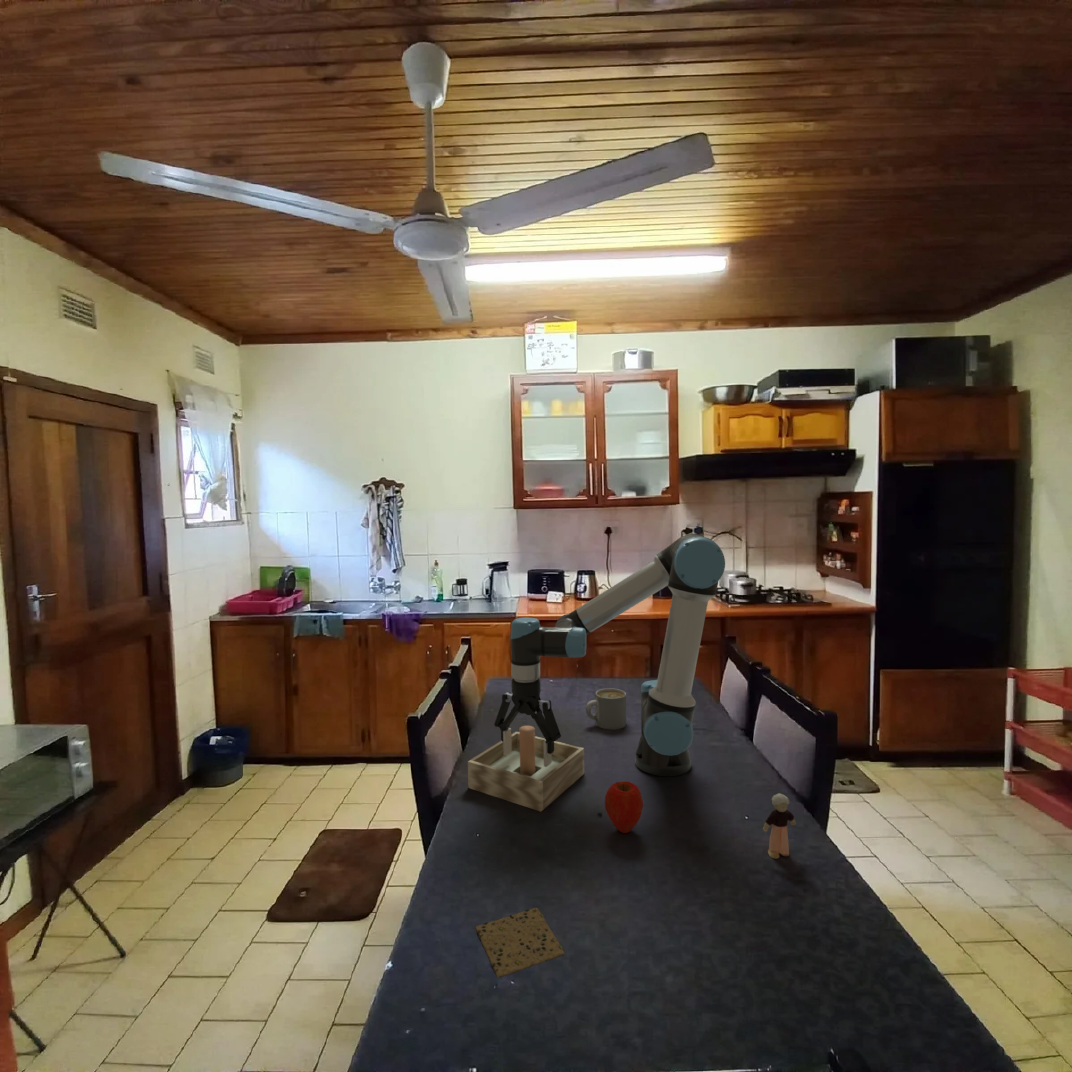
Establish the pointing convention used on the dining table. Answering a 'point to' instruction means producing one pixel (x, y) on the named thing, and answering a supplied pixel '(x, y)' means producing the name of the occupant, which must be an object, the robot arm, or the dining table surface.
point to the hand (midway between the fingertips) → (527, 759)
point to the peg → (527, 750)
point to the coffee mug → (608, 708)
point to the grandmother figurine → (779, 826)
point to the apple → (624, 805)
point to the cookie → (518, 942)
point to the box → (533, 792)
